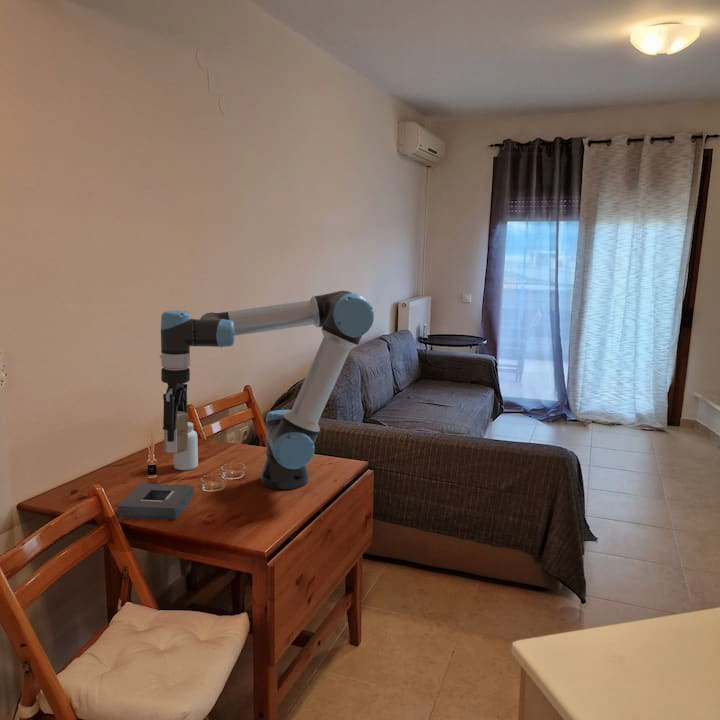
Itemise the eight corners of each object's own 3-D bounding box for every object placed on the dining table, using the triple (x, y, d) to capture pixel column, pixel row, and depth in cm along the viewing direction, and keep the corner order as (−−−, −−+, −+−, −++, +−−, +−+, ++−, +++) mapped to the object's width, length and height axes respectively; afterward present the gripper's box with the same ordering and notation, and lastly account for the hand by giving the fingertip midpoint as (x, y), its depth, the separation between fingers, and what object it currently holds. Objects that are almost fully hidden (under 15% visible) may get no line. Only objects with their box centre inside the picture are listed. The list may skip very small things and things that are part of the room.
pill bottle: (203, 465, 211) (202, 423, 208) (185, 472, 204) (183, 428, 201) (187, 460, 215) (185, 419, 212) (168, 467, 208) (166, 424, 205)
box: (174, 455, 172) (173, 416, 170) (163, 451, 174) (163, 413, 172) (188, 450, 176) (188, 412, 174) (177, 446, 178) (177, 409, 176)
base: (193, 496, 185) (193, 484, 185) (175, 520, 170) (175, 507, 169) (140, 494, 186) (140, 482, 185) (118, 517, 170) (117, 505, 170)
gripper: (173, 360, 180) (173, 436, 184) (149, 373, 161) (150, 458, 165) (199, 361, 180) (198, 438, 184) (177, 375, 161) (178, 460, 165)
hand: (175, 447), depth 175 cm, fingers closed on box, 6 cm apart
